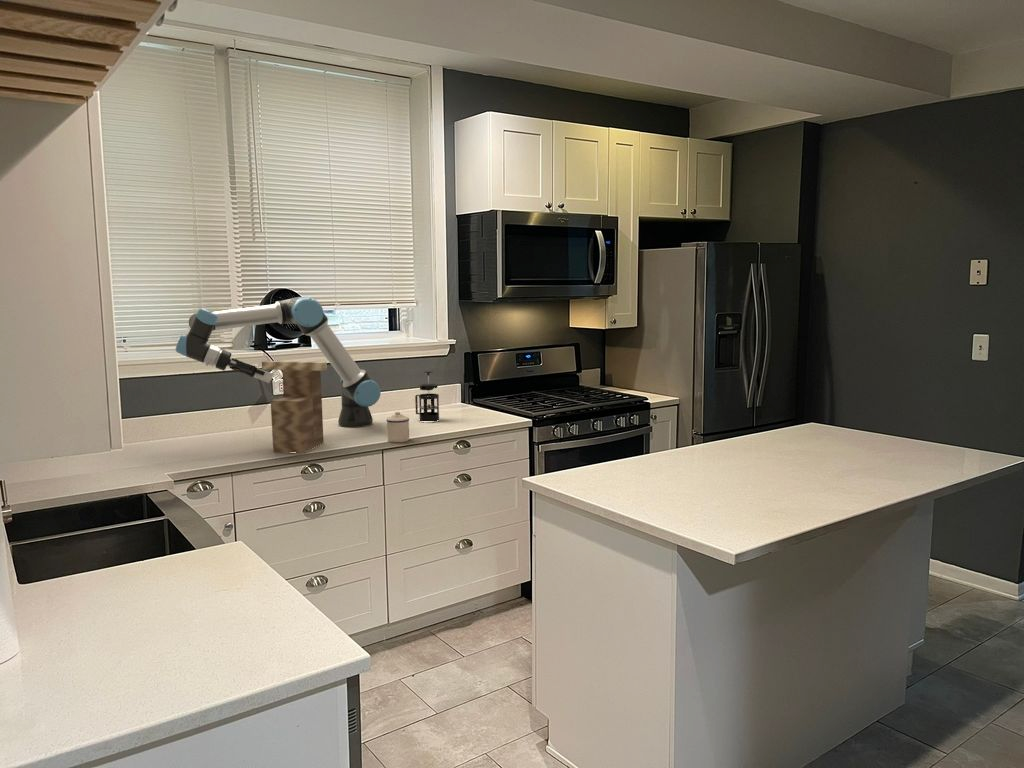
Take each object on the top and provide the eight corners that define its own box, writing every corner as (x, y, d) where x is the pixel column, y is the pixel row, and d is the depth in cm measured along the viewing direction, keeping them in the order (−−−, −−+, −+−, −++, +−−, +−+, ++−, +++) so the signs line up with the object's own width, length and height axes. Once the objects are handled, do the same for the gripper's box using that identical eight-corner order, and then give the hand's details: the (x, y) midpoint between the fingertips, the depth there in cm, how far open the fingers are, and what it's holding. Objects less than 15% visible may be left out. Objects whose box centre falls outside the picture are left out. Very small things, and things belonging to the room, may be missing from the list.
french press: (444, 419, 347) (443, 370, 344) (436, 423, 338) (435, 372, 335) (420, 418, 351) (419, 369, 347) (412, 422, 342) (411, 371, 338)
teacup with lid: (414, 440, 304) (413, 412, 302) (395, 443, 297) (394, 415, 296) (397, 435, 312) (396, 408, 310) (378, 439, 306) (377, 411, 304)
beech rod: (261, 369, 294) (261, 361, 293) (265, 368, 297) (265, 361, 296) (323, 370, 289) (323, 362, 288) (327, 369, 292) (326, 362, 291)
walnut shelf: (273, 452, 284) (269, 374, 280) (295, 442, 301) (292, 368, 297) (302, 453, 282) (298, 374, 277) (323, 443, 299) (320, 368, 295)
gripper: (214, 370, 302) (266, 389, 308) (214, 363, 279) (269, 385, 285) (222, 353, 303) (273, 372, 310) (222, 345, 280) (277, 367, 287)
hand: (271, 378), depth 298 cm, fingers open, 13 cm apart
